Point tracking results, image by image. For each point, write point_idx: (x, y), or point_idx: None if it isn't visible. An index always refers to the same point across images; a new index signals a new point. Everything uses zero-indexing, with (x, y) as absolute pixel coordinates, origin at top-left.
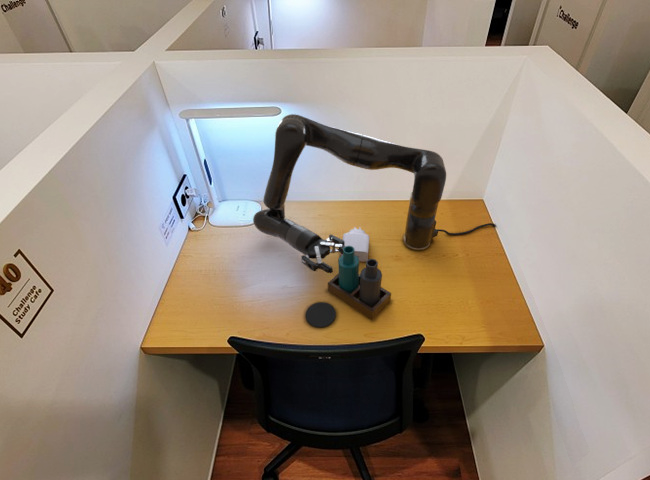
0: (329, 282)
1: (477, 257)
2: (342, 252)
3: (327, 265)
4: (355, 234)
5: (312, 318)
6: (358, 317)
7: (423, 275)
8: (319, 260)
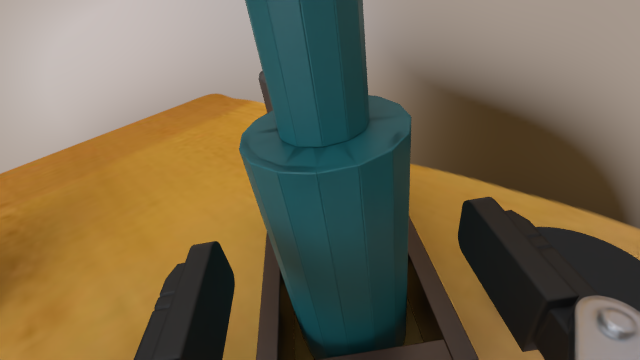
0: (464, 351)
1: (15, 190)
2: (210, 353)
3: (505, 232)
4: None
5: (632, 285)
6: (409, 208)
7: (127, 216)
8: (616, 352)
